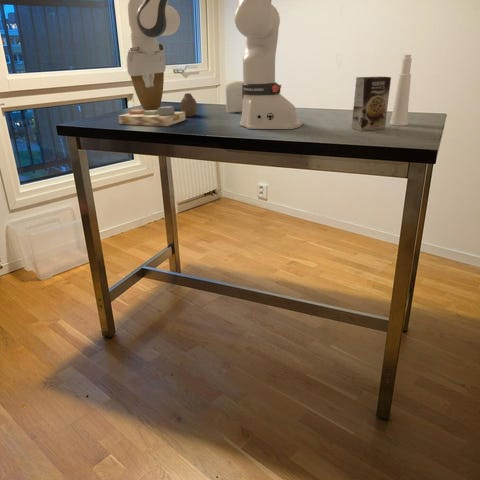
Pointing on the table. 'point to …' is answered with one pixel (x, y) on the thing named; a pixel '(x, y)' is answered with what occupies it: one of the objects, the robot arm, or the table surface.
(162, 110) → the button two
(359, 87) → the cookie box
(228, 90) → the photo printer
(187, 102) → the vase
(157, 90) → the plant pot
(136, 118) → the button panel
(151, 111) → the button three
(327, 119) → the table surface
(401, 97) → the cosmetic bottle
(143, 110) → the button one
